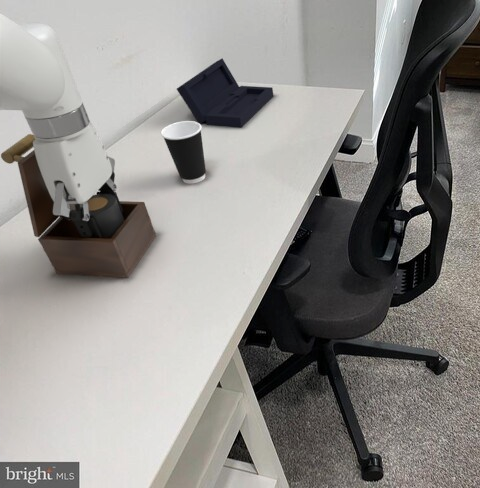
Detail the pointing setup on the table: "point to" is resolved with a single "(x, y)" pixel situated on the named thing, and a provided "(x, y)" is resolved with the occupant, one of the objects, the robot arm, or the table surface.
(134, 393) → the table surface
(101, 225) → the tape
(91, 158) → the robot arm
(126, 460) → the table surface
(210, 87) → the storage box
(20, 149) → the lid
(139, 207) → the chest
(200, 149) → the dixie cup
